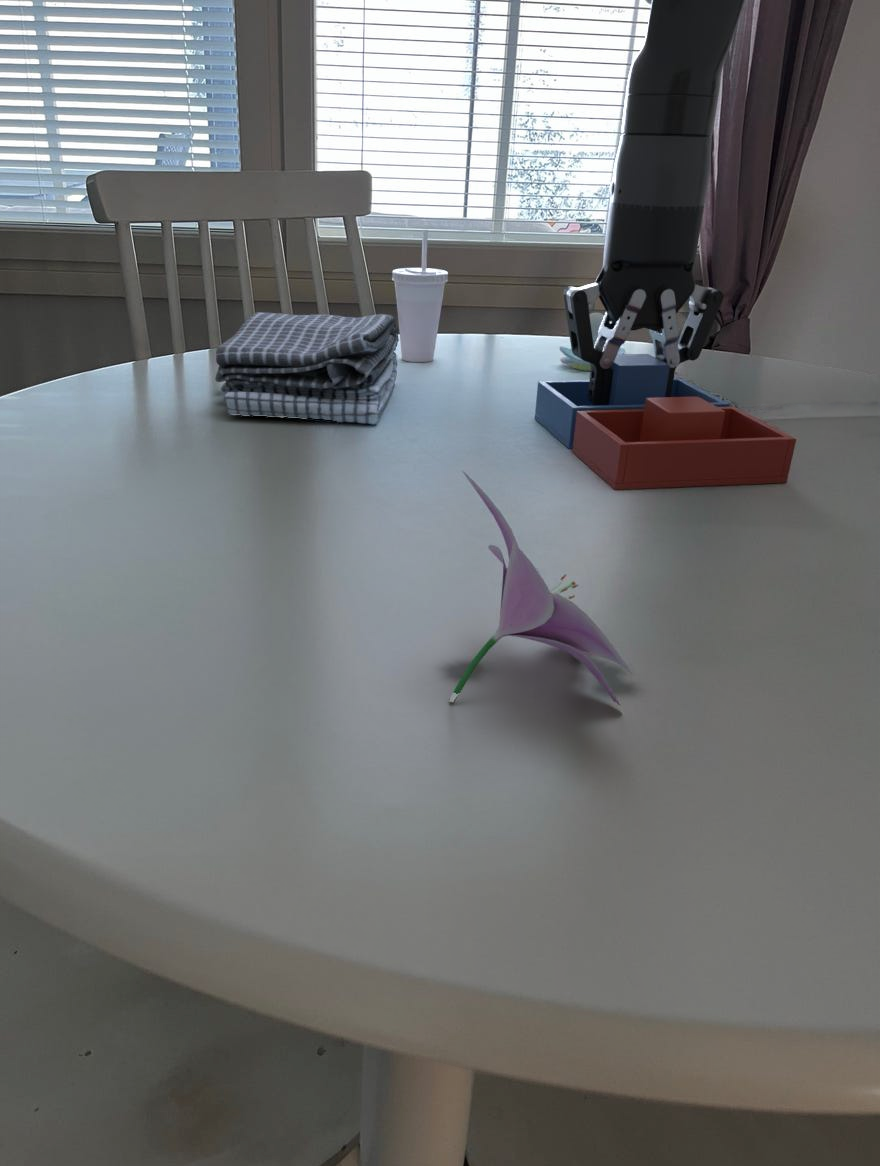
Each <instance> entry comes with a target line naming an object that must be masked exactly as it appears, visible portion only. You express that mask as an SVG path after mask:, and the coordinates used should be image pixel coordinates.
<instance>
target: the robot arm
mask: <svg viewBox="0 0 880 1166" xmlns="http://www.w3.org/2000/svg"><path fill="white" fill-rule="evenodd" d="M644 1H645V2H646V3H647V4H648V5H649V6H650V11H649V17H648V22H647V28H646V33H645V38H644V42H643V45H642V47H641V49H640V50H639V51H638V53H637V54H636V56H635V57H634V58H633V61H632V64H631V66H630V70H629V73H628V78H627V84H626V90H625V98H624V106H623V115H622V124H621V129H620V131H621V132H620V133H621V135H620V138H619V145H618V148H617V152H616V157H615V161H614V166H613V172H612V179H611V182H610V186H609V196H610V197H609V204H608V213H607V220H606V221H607V223H606V231H605V239H604V247H603V258H602V259H603V261H602V267H601V270H600V272H599V274H598V276H597V277H596V279H595V282H593V283H590V284H586V285H583V286H579V287H575V286H572V285H569V286H566V288H565V289H564V290H563V293H562V294H563V301H564V308H565V315H566V322H567V328H568V335H569V341H570V342H569V343H570V346H571V347H570V349H572V353H573V354H574V355H575V356H577V357H578V358H580V359H582V360H583V361H585V362H589V363H590V365H591V371H589V372H590V373H589V380H590V381H589V389H588V398H589V401H590V402H592V403H593V406H602V405H609V400H610V393H611V385H612V377H613V369H611V368H610V367H611V366H612V365H613V362H614V360H615V358H616V356H617V353H618V351H619V349H620V348H621V347H622V345H625V342H626V341H627V339H628V337H629V334H630V332H631V331H638V330H642V329H647V330H648V332H649V335H650V337H651V339H652V343H653V350H654V357H655V358H657V359H659V360H661V361H663V362H665V363H667V364H669V365H670V368H669V374H668V380H667V386H666V393H665V397H671V393H672V392H671V391H672V386H673V380H674V378H675V374H676V373H675V372H676V370H677V367H678V366H679V365H680V364H682V363H685V362H687V361H696V360H697V359H698V358H699V357H700V355H701V353H702V351H703V349H704V346H705V344H706V341H707V338H708V337H709V334H710V332H711V329H712V327H713V324H714V322H715V320H716V317H717V316H718V313H719V310H720V308H721V306H722V303H723V301H724V299H725V298H724V296H725V295H724V293H723V291H721V290H719V289H717V288H713V287H711V286H710V287H709V286H702V285H700V284H699V285H698V284H696V280H695V276H694V271H693V270H694V269H693V267H694V264H695V262H696V258H697V253H698V247H699V241H700V235H701V228H702V223H703V217H704V210H705V205H706V200H707V199H706V198H707V193H708V192H707V191H708V186H709V179H710V174H711V161H712V141H713V137H712V136H713V135H714V127H715V120H716V116H717V115H716V114H717V109H718V102H719V97H720V90H721V80H722V72H723V70H724V69H723V68H724V67H725V66H724V65H725V63H726V59H727V56H728V53H729V51H730V48H731V46H732V43H733V40H734V37H735V34H736V30H737V27H738V24H739V21H740V18H741V15H742V11H743V8H744V5H745V2H746V0H644ZM597 299H599V300H600V302H601V304H602V306H603V307H604V310H605V313H604V318H603V321H602V323H601V325H600V328H599V331H598V334H599V335H598V338H597V341H596V343H595V345H594V344H593V337H592V330H591V322H590V315H589V314H591V313H593V311H594V309H595V303H596V300H597ZM688 300H689V301H688ZM687 301H688V307H689V310H690V311H689V313H688V315H687V317H686V320H685V322H684V325H683V327H682V330H681V333H680V332H679V326H678V318H677V314H678V313H679V312H680V310H681V309H682V307H683V306H684V305H685V304H686V302H687Z"/></svg>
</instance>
